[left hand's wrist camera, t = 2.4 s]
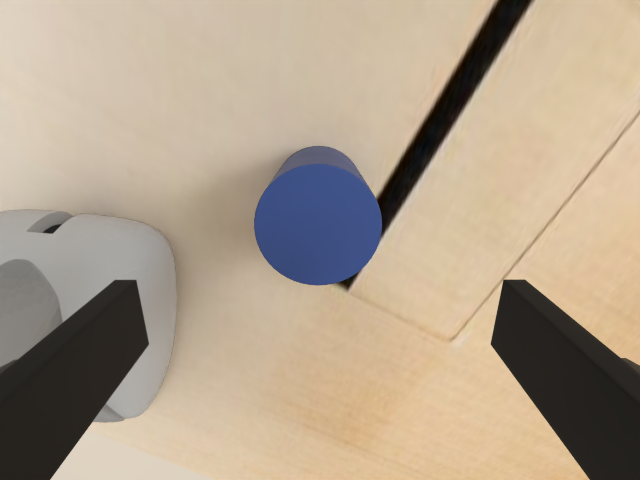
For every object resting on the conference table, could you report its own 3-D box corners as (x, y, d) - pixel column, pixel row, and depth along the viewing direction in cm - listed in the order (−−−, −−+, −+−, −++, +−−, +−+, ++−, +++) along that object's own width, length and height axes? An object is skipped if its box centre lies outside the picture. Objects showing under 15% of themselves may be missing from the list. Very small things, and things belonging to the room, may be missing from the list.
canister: (365, 226, 33) (385, 278, 23) (282, 236, 34) (265, 291, 23) (358, 140, 31) (377, 156, 20) (268, 151, 31) (242, 172, 21)
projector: (-50, 293, 36) (-281, 408, 22) (80, 135, 30) (-117, 156, 17) (127, 416, 41) (31, 569, 28) (263, 301, 36) (229, 419, 22)
